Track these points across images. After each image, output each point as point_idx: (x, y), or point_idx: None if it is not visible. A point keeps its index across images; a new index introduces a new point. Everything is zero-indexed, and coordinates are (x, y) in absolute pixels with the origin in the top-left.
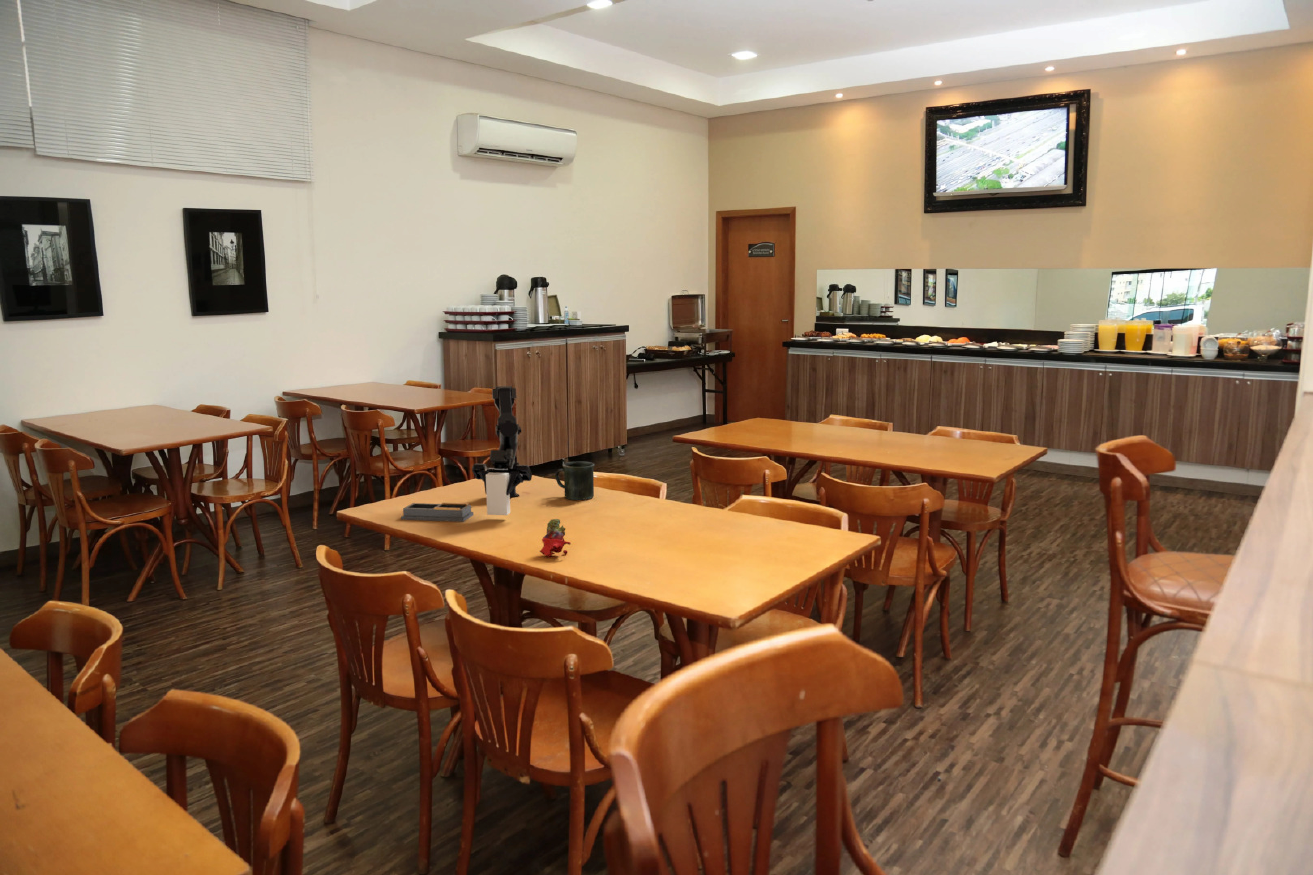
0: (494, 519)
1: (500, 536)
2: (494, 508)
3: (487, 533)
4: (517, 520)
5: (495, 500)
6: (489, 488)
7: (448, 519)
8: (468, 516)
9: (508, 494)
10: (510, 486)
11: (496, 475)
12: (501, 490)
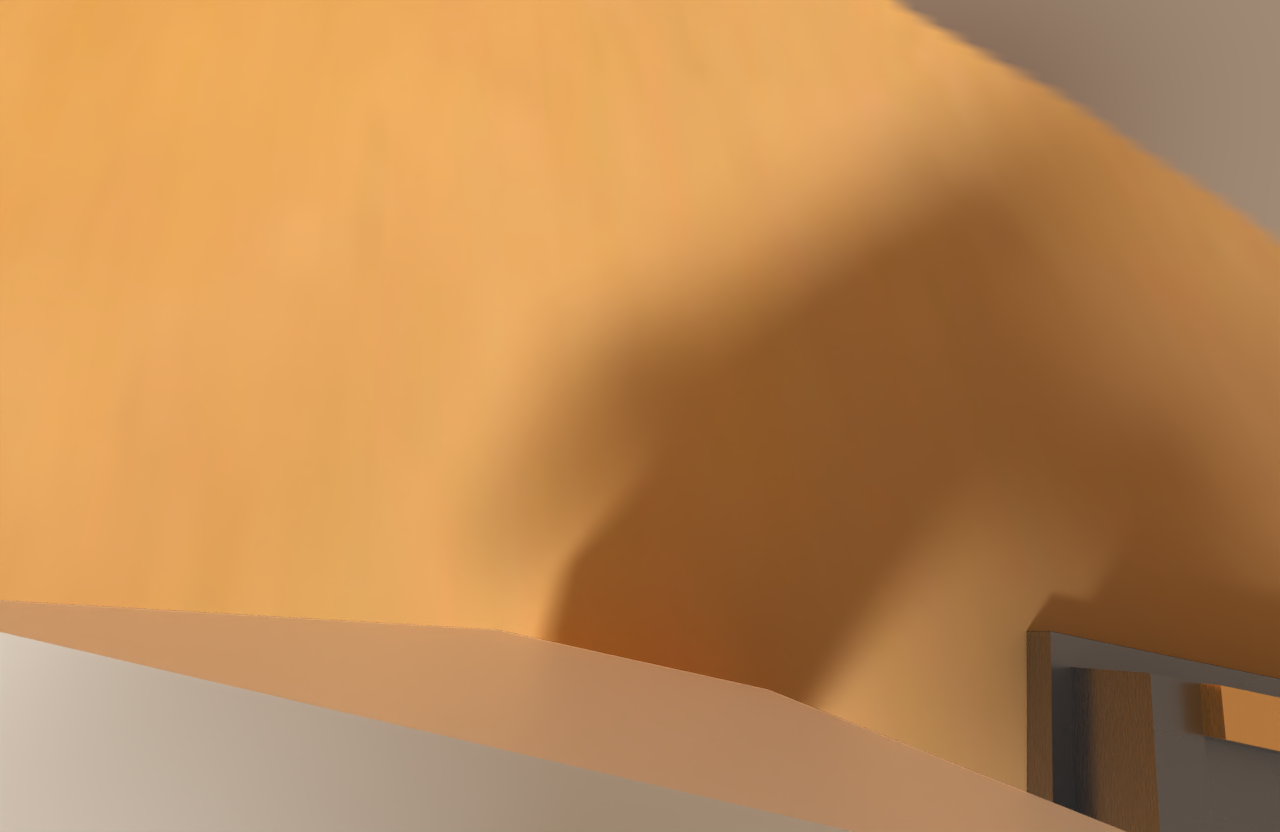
0: None
1: (539, 102)
2: (665, 669)
3: (660, 185)
4: None
5: (646, 671)
6: (828, 734)
7: (1239, 672)
8: None
9: None
10: None
11: (523, 755)
12: (471, 645)
